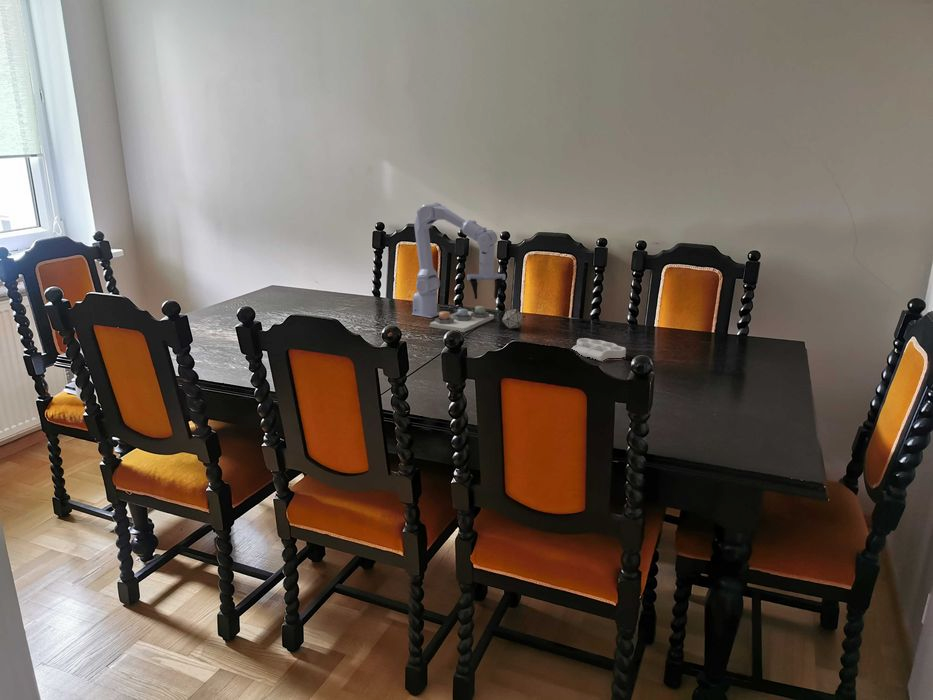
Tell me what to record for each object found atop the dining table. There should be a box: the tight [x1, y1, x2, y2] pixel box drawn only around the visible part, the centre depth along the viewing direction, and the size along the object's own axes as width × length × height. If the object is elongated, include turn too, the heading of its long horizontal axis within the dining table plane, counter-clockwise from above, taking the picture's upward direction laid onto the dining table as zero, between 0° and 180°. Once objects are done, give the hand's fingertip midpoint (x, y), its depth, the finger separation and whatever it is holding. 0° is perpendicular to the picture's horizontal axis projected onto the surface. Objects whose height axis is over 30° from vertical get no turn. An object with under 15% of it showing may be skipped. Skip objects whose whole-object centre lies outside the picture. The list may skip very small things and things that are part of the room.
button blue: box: [456, 308, 469, 317], centre depth 268 cm, size 4×4×2 cm
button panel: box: [429, 310, 495, 333], centre depth 269 cm, size 15×24×3 cm, turn 151°
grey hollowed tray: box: [571, 337, 627, 362], centre depth 233 cm, size 3×18×15 cm
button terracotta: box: [438, 310, 451, 320], centre depth 264 cm, size 4×4×2 cm
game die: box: [499, 306, 526, 331], centre depth 260 cm, size 9×8×10 cm
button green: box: [474, 305, 486, 314], centre depth 273 cm, size 4×4×2 cm
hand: (485, 298), depth 267 cm, fingers open, 7 cm apart
